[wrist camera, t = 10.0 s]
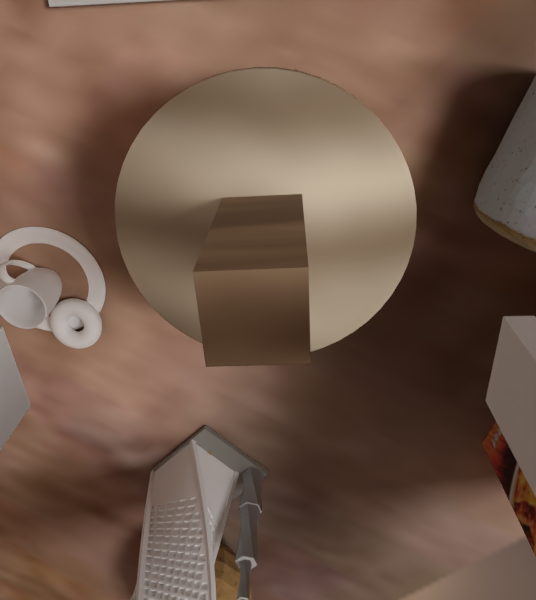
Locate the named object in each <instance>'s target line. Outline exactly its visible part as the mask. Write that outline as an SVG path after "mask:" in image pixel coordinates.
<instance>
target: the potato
mask: <svg viewBox="0 0 536 600" xmlns="http://www.w3.org/2000/svg"><path fill="white" fill-rule="evenodd" d="M235 558H236V555H235V554H234V553H233V552H232V550H230V549H229V548H228V547H226V546H225V545H224V544H221V543H220V546H219V550H218V553H217V557H216V560H215V564H214V570H215V582H216V600H237V595H238V589H239V582H240V568H238V566H237V564H236V562H235ZM249 600H253V598H252V590H251V583H250V599H249Z"/></svg>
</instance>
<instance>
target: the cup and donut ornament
mask: <svg viewBox="0 0 536 600" xmlns="http://www.w3.org/2000/svg"><path fill="white" fill-rule="evenodd" d="M32 243H45V244H50V245H53V246H56V247H59V248H61V249H63V250H64V251H66V252H67V253H69V254H70V255H71V256H73V257H74V258H75V259H76V260H77V261H78V262H79V264H80V265H81V266H82V268H83V270H84V271H85V274H86V276H87V279H88V284H89V293H88V297H87V300H86V301H84V300H80V299H77V298H69V299H65V300H63V301H61V302H59V303H58V304H57V305H56V303H57V302H58V300H59V298H60V295H61V292H62V282H61V279H60V277H59V276H58V274H57V273H56V272H54V271H53V270H51V269H48V268H38V267H35V266H34V265H32V264H30V263H28V262H25V261H22V260H9V258H10V256H11V255H12V253H13V252H14V251H16V250H17V249H18V248H20V247H22V246H24V245H27V244H32ZM8 260H9V261H8ZM6 265H16V266H19V267H22V268H25V269H27V270H28V271H26V272H25V273H23V274H21V275H20V276H18V277H17V278H15V279H14V278H12V277H10V276H9V275H8V273H7V270H6ZM105 295H106V287H105V280H104V276H103V273H102V271H101V269H100V267H99V265H98V263H97V261H96V260H95V258H94V257H93V256H92V255H91V253H90V252H89V251H88V250H87V249H86V248H85V247H84V246H83V245H82V244H80V243H79V242H78V241H76V240H75V239H73V238H72V237H70V236H68V235H66V234H64V233H62V232H59V231H57V230H54V229H50V228H45V227H23V228H19V229H16V230H13V231H11V232H9V233H7V234H6V235H4V236H3V237H2V238H1V239H0V315H1V316H2V317H3V318H4V319H5V320H6V321H7V322H9V323H10V324H12V325H14V326H16V327H19V328H24V329H31V328H35V327H36V328H39V329H42V330H47V331H52V332H53V334H54V335H55V337H56V338H57V339H58V340H59V341H60V342H62V343H63V344H64V345H66V346H68V347H71V348H76V349H81V348H86V347H89V346H91V345H93V344H94V343H95V342H96V341H97V340H98V339H99V337H100V335H101V332H102V320H101V317H100V315H99V312H100V311H101V309H102V307H103V304H104V301H105ZM55 305H56V306H55ZM52 309H53V310H52ZM51 311H52V312H51ZM50 312H51V315H50V317H48V315H49V314H50ZM81 327H84V329H83V330H82V331H80V332H77V331H75V330H76V329H79V328H81Z"/></svg>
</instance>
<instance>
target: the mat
mask: <svg viewBox="0 0 536 600" xmlns="http://www.w3.org/2000/svg"><path fill="white" fill-rule="evenodd" d="M159 1H177V0H48V2H49V7H69V6H87V5H105V4H123V3H141V2H159Z"/></svg>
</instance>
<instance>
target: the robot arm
mask: <svg viewBox="0 0 536 600" xmlns="http://www.w3.org/2000/svg"><path fill="white" fill-rule="evenodd" d="M485 401H486V403H487V405H488V407H489V409H490V410H491V412H492V414H493V416H494V418H495V420H496V422H497V424H498V426H499V428H500V430H501V432H502V434H503V436H504V437H505V439H506V441H507V443H508V445H509V447H510V449H511V451H512V453H513V455H514V457H515V459H516V461H517V462H518V464H519V466H520V468H521V470H522V472H523V474H524V476H525V478H526V480H527V482H528V484H529V486H530V488H531V489H532V491H533V493H534V495H535V497H536V317H535V316H503V320H502V324H501V329H500V334H499V339H498V343H497V348H496V353H495V357H494V362H493V367H492V372H491V376H490V381H489V386H488V391H487V395H486V400H485ZM30 406H31V405H30V402H29V399H28V396H27V393H26V391H25V388H24V385H23V382H22V379H21V377H20V374H19V371H18V368H17V365H16V363H15V360H14V357H13V354H12V351H11V349H10V346H9V343H8V340H7V337H6V335H5V332H4V329H3V326H0V451H1V449H2V448H3V446H4V445H5V443H6V442H7V440H8V439H9V437H10V436H11V434H12V433H13V431H14V430H15V428H16V427H17V425H18V424H19V422H20V421H21V420H22V418H23V417H24V415H25V414H26V412H27V411H28V409H29V408H30Z"/></svg>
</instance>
